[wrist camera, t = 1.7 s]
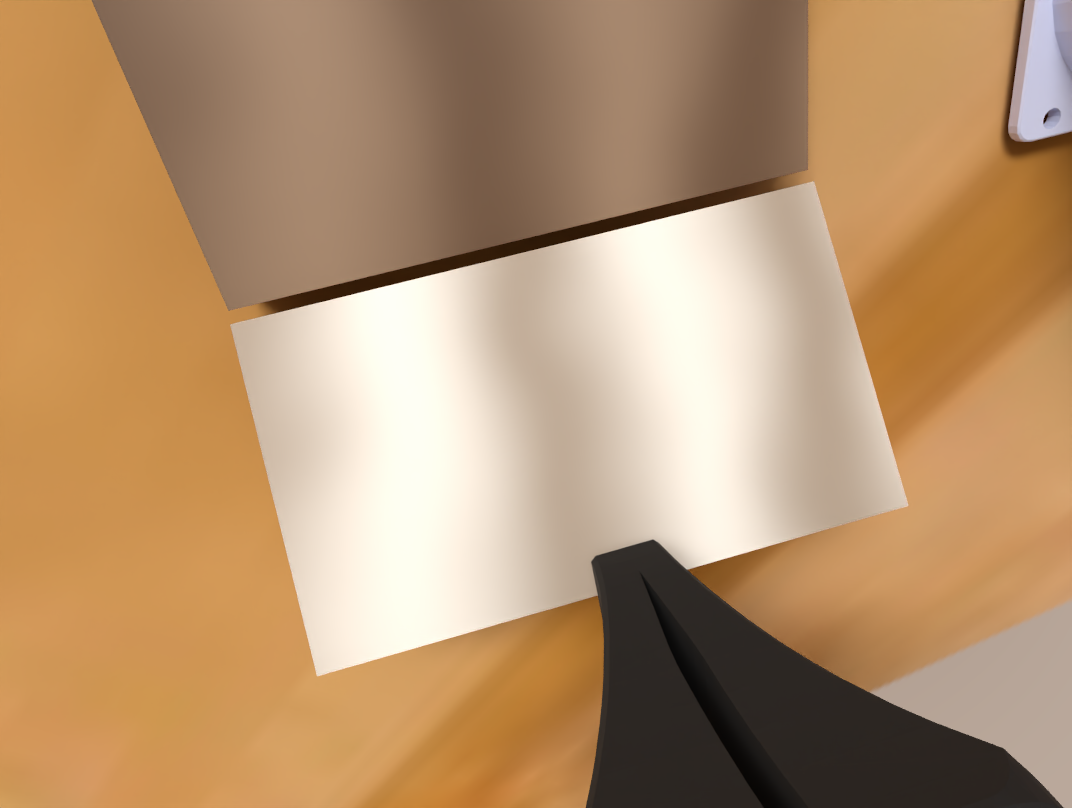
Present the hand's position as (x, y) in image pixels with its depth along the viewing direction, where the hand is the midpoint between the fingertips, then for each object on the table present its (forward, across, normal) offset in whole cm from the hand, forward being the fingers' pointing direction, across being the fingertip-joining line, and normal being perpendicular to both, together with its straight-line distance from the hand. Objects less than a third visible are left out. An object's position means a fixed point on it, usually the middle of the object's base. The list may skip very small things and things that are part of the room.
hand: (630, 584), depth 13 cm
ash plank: (+5, 0, -1) cm, 5 cm away
